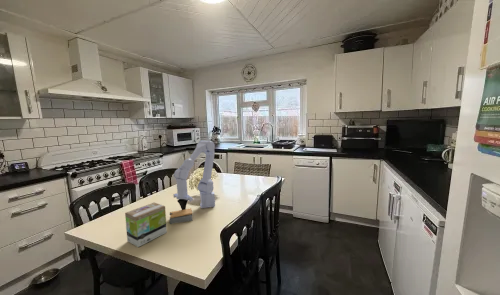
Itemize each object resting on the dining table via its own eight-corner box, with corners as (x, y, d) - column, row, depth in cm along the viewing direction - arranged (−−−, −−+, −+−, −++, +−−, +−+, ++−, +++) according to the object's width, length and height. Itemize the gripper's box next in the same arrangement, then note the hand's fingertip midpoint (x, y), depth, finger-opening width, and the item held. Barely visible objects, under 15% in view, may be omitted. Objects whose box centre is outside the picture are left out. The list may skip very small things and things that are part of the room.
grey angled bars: (192, 215, 122) (192, 210, 122) (192, 220, 116) (191, 215, 116) (171, 218, 119) (171, 213, 119) (170, 223, 113) (169, 218, 113)
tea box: (138, 248, 91) (135, 217, 90) (127, 241, 97) (123, 212, 95) (167, 232, 104) (165, 205, 102) (156, 227, 109) (153, 201, 107)
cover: (191, 209, 123) (191, 207, 123) (192, 213, 117) (192, 211, 117) (169, 213, 118) (169, 211, 118) (169, 218, 112) (169, 215, 112)
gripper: (168, 189, 121) (170, 210, 123) (185, 192, 113) (187, 215, 115) (178, 185, 127) (179, 206, 129) (194, 189, 119) (196, 210, 121)
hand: (183, 210), depth 122 cm, fingers closed, pressing on cover
